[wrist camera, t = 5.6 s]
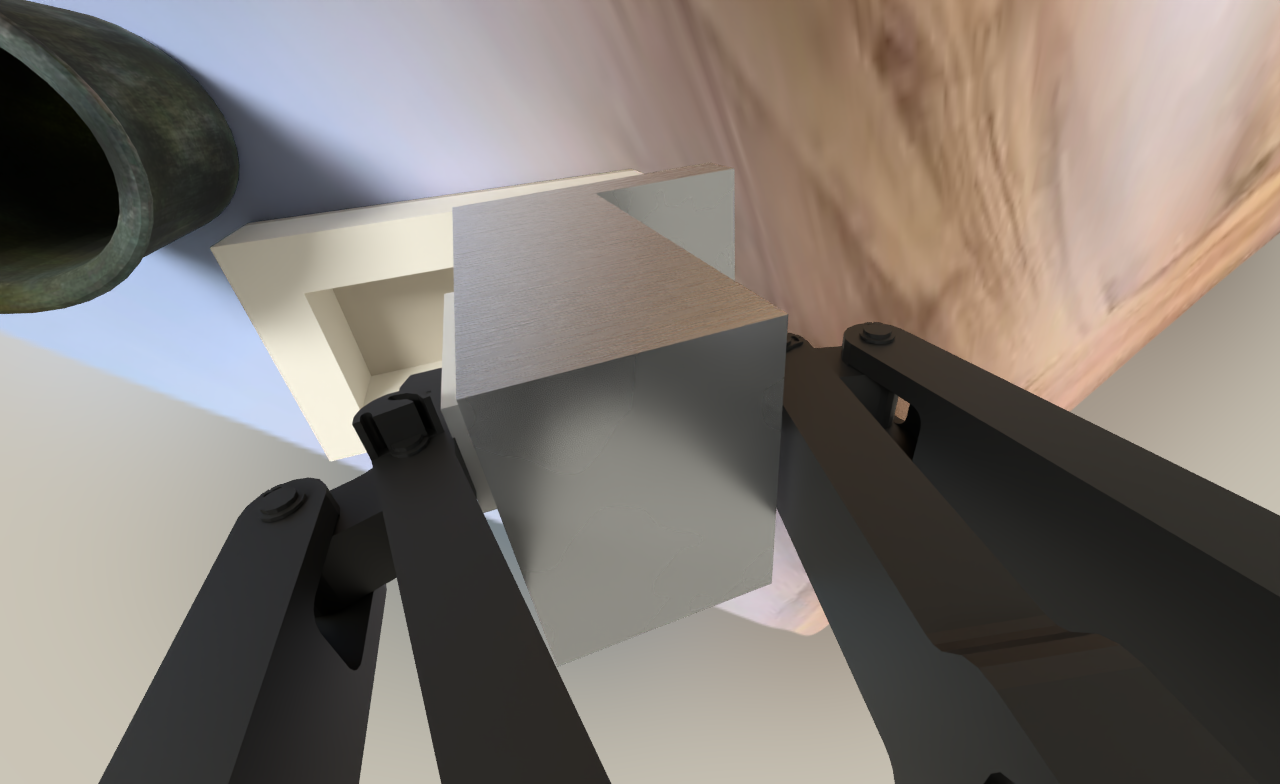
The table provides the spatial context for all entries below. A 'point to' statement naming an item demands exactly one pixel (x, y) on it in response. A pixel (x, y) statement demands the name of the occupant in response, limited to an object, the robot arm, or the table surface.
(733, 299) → the grey l-shaped block
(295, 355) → the well block
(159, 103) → the mug
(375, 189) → the table surface
